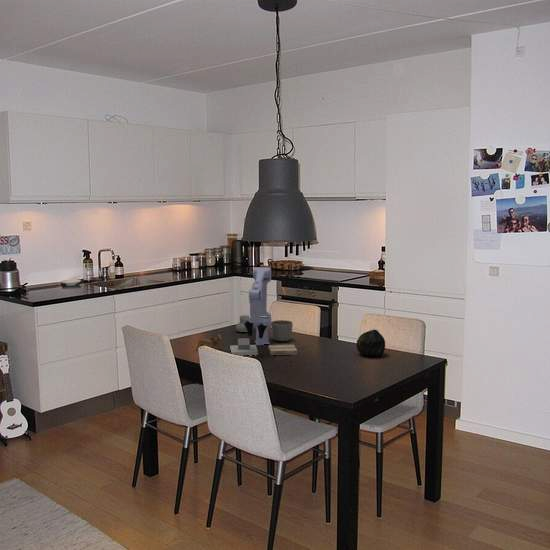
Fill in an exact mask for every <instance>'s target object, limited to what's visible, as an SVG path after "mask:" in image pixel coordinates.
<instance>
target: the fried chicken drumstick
mask: <svg viewBox="0 0 550 550" xmlns="http://www.w3.org/2000/svg"><path fill="white" fill-rule="evenodd" d="M222 341H223V336H222V335H221V334H216V335H214V336H212V337H211V338H210V339H205V338H201V339H200V340H199V341H198V344H197V346H196V349H195V351H197V350H198V348H199V346H204V347H205V346H206V347H212V349H213V348H214V349H215V350H216V347H218V346H219V345H220V344H221V343H222Z"/></svg>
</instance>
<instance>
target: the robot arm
mask: <svg viewBox="0 0 550 550" xmlns="http://www.w3.org/2000/svg"><path fill="white" fill-rule="evenodd" d="M252 277H253V280H254V281H253V283H252V286H251V289H249V291H248V300H249V318H244V322H246V323H244V325H245V327H246V329H247V332H248V333H247V335H248V337H252V336H253V330H252V329H254V328H255V337H256V338H255V340H254V344H255V343H256V344H255V345H256V346H265V345H264V344H270V345H271V343H270V339H269V338H270V336H269V335H270V333H269V332H270V331H269V330H270V328H271V322H272V315H271V313H269V312H268V311H267V304H268V302H267V300H268V296H267V295H268V283H270V282H271V281H272V268H271V266H269V267H265V266H264V267H258V266H254V267H253V269H252Z"/></svg>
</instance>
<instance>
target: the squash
mask: <svg viewBox="0 0 550 550" xmlns="http://www.w3.org/2000/svg"><path fill="white" fill-rule="evenodd" d="M356 350H357V351H358V353H359V354H360V355H362V356H369V357H370V356H371V357H374V356H377V357H379V355H380V356H381V355H383V354H384V352H385V351H386V340H385V338H384V336H383V335H382V334H381V333H380V331H378V329H370V330H368V331H365V332H363V333H362V334H360V335H359V337H358V339H357V341H356Z"/></svg>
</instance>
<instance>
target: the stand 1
mask: <svg viewBox="0 0 550 550" xmlns="http://www.w3.org/2000/svg"><path fill="white" fill-rule="evenodd" d="M229 347H230V348H229V351H230V350H231V352H230V354H231V353H232V354H237V355H241V356H243V355H249V356H248V357H253V356H252V355H255V356H254V357H257V356H256V355H258V356H259V351H258V348H257V345H256V344H250V349H245V350H238V344H237V345H236V344H234V345H230V346H229ZM243 357H244V356H243Z"/></svg>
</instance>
